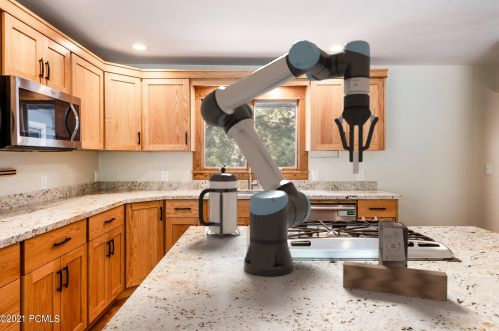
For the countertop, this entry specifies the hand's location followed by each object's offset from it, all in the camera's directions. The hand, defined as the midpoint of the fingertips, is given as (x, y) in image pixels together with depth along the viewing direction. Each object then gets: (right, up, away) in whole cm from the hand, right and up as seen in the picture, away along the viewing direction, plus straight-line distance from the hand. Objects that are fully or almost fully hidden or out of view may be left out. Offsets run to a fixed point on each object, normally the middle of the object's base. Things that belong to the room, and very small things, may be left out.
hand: (355, 173), depth 101 cm
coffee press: (-44, -29, +46) cm, 70 cm away
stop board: (+4, -30, -16) cm, 34 cm away
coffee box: (+7, -30, -10) cm, 32 cm away
